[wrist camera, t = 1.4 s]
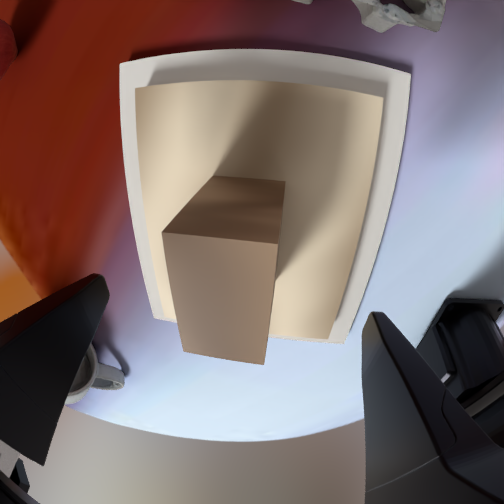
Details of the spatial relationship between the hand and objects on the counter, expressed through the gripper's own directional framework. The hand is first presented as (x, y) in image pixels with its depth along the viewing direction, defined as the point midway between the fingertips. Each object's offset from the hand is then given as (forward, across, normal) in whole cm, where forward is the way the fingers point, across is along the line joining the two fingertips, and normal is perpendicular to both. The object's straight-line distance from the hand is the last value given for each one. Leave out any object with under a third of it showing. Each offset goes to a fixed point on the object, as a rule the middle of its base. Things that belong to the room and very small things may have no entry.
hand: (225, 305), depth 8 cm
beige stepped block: (+6, 0, 0) cm, 6 cm away
